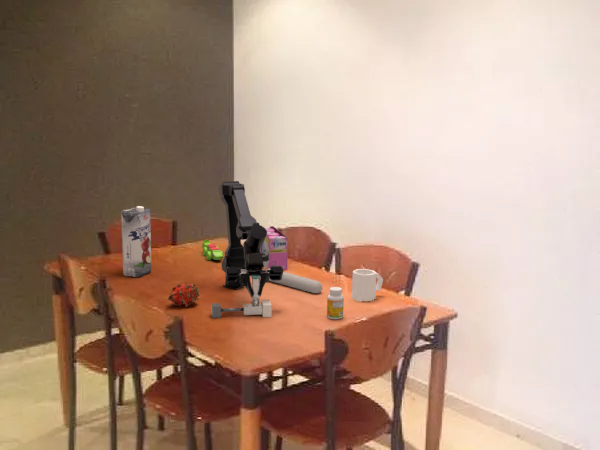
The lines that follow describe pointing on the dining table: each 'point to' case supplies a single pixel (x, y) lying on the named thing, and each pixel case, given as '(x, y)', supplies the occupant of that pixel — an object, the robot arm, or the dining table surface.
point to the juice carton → (136, 241)
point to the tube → (299, 283)
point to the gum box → (275, 248)
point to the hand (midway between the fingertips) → (256, 296)
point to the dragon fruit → (184, 294)
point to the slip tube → (254, 299)
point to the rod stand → (222, 310)
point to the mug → (365, 284)
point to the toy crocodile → (211, 251)
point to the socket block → (267, 308)
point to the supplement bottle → (335, 303)
